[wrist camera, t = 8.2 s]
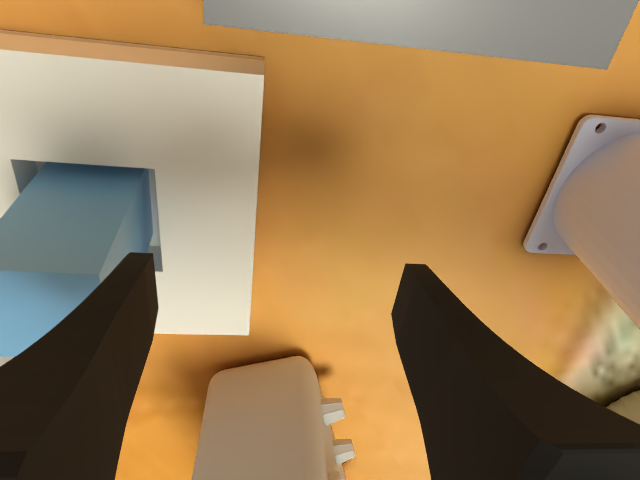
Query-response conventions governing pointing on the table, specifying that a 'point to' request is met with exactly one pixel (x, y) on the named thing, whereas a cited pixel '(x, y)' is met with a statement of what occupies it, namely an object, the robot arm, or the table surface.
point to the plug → (66, 243)
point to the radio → (270, 425)
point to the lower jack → (149, 154)
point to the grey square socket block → (447, 25)
